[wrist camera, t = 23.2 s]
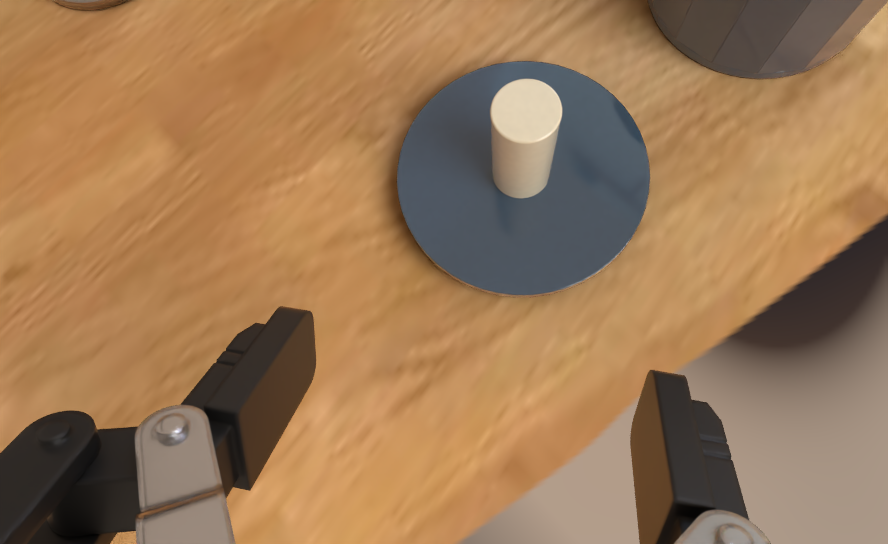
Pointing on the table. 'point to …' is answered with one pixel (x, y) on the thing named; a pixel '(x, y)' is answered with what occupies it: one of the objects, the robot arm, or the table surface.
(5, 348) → the table surface
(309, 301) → the table surface
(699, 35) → the blue handleless cup
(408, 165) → the lid
